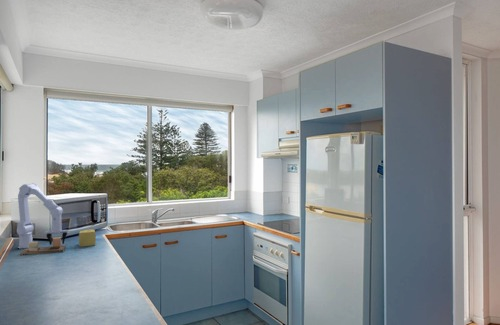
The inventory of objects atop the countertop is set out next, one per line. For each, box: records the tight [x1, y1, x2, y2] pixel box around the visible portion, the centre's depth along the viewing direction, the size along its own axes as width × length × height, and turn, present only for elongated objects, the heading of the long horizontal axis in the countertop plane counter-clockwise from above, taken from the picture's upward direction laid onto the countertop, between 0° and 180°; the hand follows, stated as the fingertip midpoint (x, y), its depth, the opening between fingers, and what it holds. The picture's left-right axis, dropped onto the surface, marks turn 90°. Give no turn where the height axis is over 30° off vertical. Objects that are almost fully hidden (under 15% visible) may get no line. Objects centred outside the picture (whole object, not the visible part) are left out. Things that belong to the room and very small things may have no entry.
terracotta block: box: [52, 236, 62, 247], centre depth 240 cm, size 4×4×6 cm
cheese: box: [78, 228, 97, 248], centre depth 248 cm, size 10×11×10 cm
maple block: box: [29, 240, 39, 251], centre depth 227 cm, size 4×4×6 cm
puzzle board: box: [20, 245, 67, 256], centre depth 229 cm, size 11×24×2 cm, turn 109°
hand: (57, 244), depth 240 cm, fingers open, 7 cm apart
